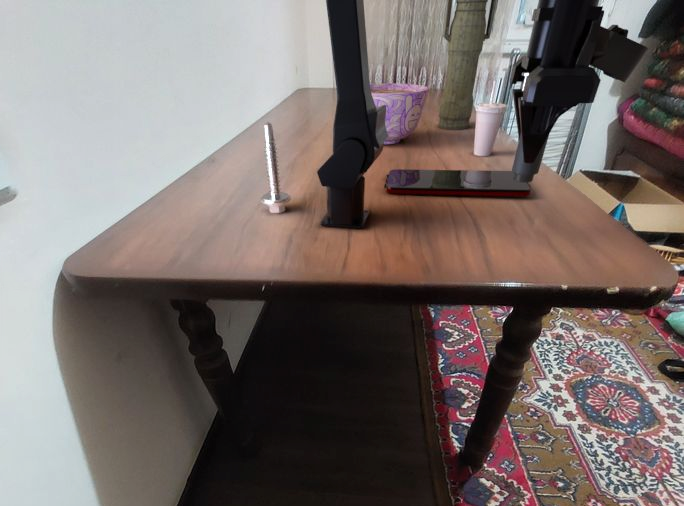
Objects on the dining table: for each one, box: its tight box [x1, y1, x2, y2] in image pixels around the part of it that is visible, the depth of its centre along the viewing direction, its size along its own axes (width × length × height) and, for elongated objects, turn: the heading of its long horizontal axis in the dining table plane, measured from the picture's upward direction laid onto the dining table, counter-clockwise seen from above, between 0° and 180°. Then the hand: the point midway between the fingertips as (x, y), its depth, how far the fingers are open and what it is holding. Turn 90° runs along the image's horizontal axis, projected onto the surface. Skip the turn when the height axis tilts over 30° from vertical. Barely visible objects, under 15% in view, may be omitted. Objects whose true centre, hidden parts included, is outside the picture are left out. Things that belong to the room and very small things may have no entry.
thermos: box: [437, 0, 498, 131], centre depth 106 cm, size 9×12×35 cm
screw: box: [260, 121, 292, 214], centre depth 63 cm, size 13×5×5 cm
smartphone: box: [384, 168, 532, 198], centre depth 74 cm, size 12×2×25 cm
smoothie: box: [473, 79, 508, 157], centre depth 88 cm, size 6×6×14 cm
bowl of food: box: [370, 82, 430, 145], centre depth 101 cm, size 20×20×12 cm
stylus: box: [511, 134, 550, 183], centre depth 50 cm, size 3×3×9 cm
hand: (526, 159), depth 51 cm, fingers closed on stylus, 3 cm apart
